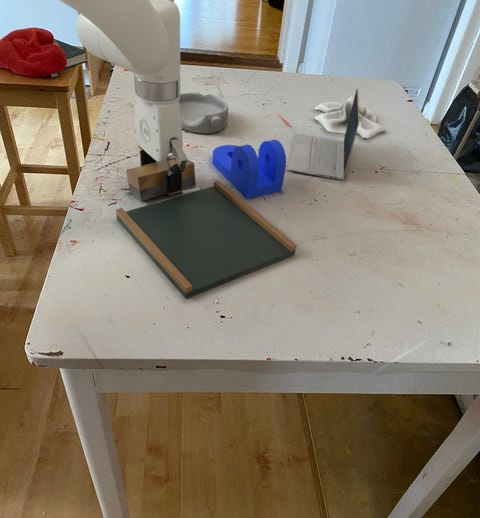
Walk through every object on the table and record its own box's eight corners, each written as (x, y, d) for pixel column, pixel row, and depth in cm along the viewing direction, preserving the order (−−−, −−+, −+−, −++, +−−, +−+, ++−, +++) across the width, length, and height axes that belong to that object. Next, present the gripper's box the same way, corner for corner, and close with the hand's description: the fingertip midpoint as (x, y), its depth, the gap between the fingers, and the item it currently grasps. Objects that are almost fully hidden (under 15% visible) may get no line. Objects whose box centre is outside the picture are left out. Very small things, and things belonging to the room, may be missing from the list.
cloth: (386, 143, 116) (394, 118, 112) (312, 132, 117) (316, 107, 113) (381, 108, 132) (387, 84, 127) (315, 98, 132) (319, 75, 128)
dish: (226, 138, 111) (227, 117, 107) (167, 132, 110) (166, 111, 107) (228, 112, 121) (229, 92, 117) (174, 107, 120) (173, 87, 117)
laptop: (293, 136, 115) (302, 79, 105) (344, 144, 114) (358, 87, 105) (286, 172, 102) (296, 111, 93) (344, 181, 102) (360, 121, 92)
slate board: (185, 299, 72) (185, 288, 71) (116, 219, 85) (115, 209, 83) (294, 254, 82) (296, 244, 81) (218, 189, 95) (218, 179, 93)
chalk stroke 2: (166, 189, 92) (166, 192, 93) (168, 192, 92) (168, 195, 92) (188, 184, 94) (188, 186, 95) (190, 186, 94) (190, 189, 94)
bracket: (281, 190, 97) (288, 149, 90) (246, 199, 93) (251, 156, 87) (238, 151, 107) (241, 111, 100) (205, 157, 104) (207, 116, 97)
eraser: (141, 200, 88) (137, 177, 86) (129, 192, 92) (125, 169, 89) (195, 185, 94) (194, 162, 91) (183, 177, 97) (181, 155, 94)
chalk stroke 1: (156, 207, 89) (156, 205, 88) (154, 205, 89) (153, 202, 89) (177, 202, 91) (177, 199, 90) (174, 199, 91) (174, 197, 91)
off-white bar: (181, 190, 93) (181, 193, 93) (183, 193, 92) (183, 195, 92) (198, 187, 94) (198, 189, 94) (200, 189, 93) (200, 192, 94)
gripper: (114, 72, 82) (123, 164, 94) (163, 110, 73) (166, 206, 85) (153, 67, 85) (156, 156, 98) (204, 102, 76) (201, 196, 88)
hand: (161, 179), depth 91 cm, fingers open, 9 cm apart
